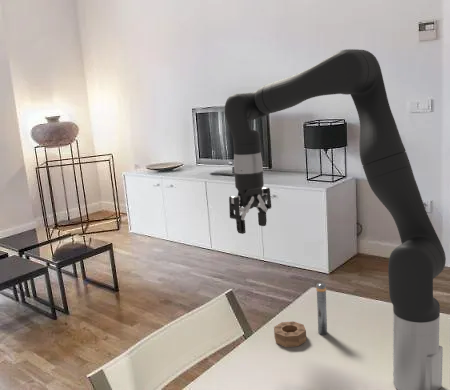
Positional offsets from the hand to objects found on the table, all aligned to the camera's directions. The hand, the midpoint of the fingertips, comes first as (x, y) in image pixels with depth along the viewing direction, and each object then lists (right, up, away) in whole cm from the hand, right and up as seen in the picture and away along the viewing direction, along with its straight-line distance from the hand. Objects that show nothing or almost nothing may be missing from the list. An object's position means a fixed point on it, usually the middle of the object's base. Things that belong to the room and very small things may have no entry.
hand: (252, 229), depth 133 cm
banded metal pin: (+19, -28, +1) cm, 34 cm away
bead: (+10, -29, -1) cm, 31 cm away
